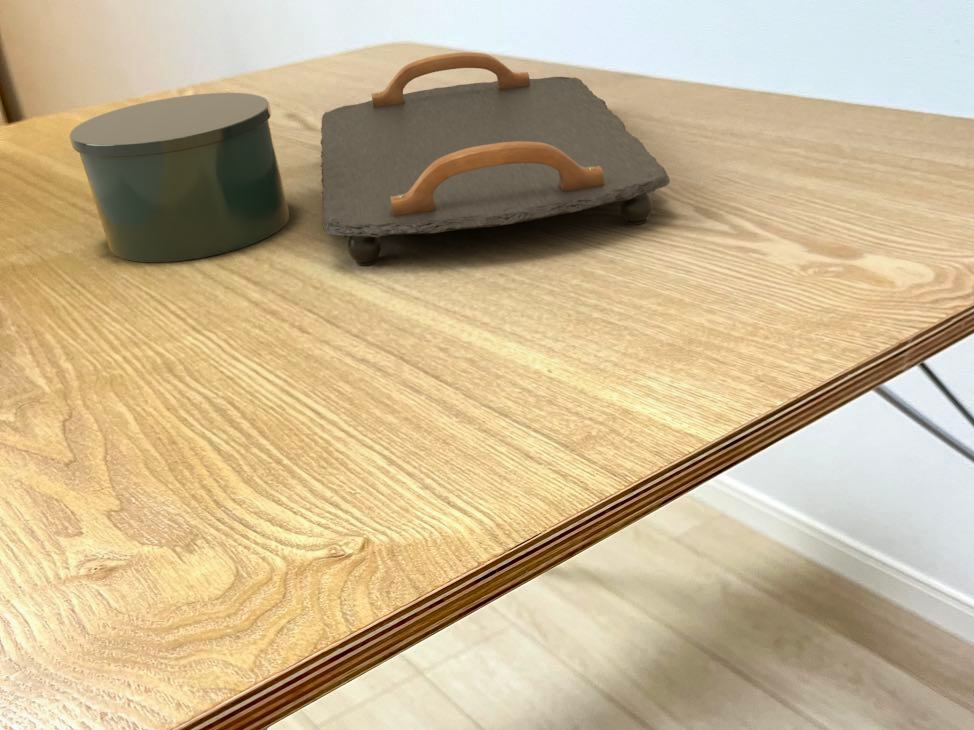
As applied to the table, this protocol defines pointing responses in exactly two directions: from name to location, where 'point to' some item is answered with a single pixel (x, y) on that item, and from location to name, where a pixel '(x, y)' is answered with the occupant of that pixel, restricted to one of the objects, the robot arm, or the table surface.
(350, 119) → the serving tray
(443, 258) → the table surface
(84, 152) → the canister
